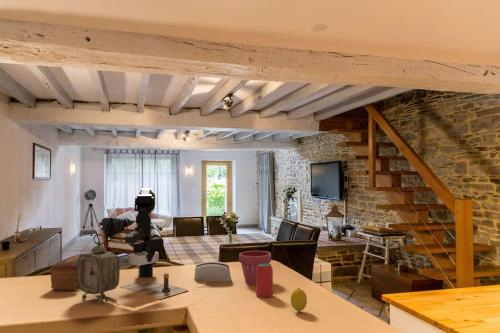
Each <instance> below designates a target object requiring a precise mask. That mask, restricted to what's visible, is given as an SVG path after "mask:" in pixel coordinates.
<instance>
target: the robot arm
mask: <svg viewBox="0 0 500 333" xmlns="http://www.w3.org/2000/svg"><path fill="white" fill-rule="evenodd" d="M155 209H156V194H155V193H154V192H153V191H152V188H150V187H149V188H147V187H143V188H142V187H141V188H140V192H139V193H138V194H137V195H136V197H134V209H133V210H134V212H137V213H136V217H135V222H136V226H134V230H133V231H131V232H129V233H127V234H126V235H124V240H125V244H127V245H128V246H130V247H131V248H132V249H133V252H134V253H138V252H143V251H147V253H148V262H151V260H152V258H153V256H154V254H155V252H157V250H158V249H159V247H160V246H163V245H164V244H165V243H164V238H162V237H154V235H152V229H154V226H153V225H152V213H153V211H154V210H155ZM156 264H157V262H154V263H150V264H145V265H140V266H138V265H135V266H136V267H138V278H145V279H146V278H152V277H154V275H153V274H154V268H153V266H155V265H156Z"/></svg>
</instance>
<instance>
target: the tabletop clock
mask: <svg viewBox="0 0 500 333" xmlns="http://www.w3.org/2000/svg"><path fill="white" fill-rule="evenodd" d="M97 236H99V237H100V236H101V237H102V239H103V242H101V241H100V240H98V241H96V237H97ZM105 242H106V239H105V236H104V234H102V233H95V234H94V236H93V243H94V244H96V245H95V246H94V247H93V248H92V249H91V252H87V253H80V254H81V255H80V256H79V260H78V286H79V288H78V289H79V290H80V291H81V292H84V293H85V294H83V295H81V299H82V300H85V299H87V295H88V294H90V295H98V294H100V299H99V300H98V304H99V305H102V304H104V299H103V297H106V296H107V295H106V294H105V292H109V291H113V290H115V289H117V287H118V286H119V284H120V274H121V273H120V266H121V265H120V258H119V256H118V255H117V254H115V253H113V252H110V251H107V249H106V247H105V246H104V244H105Z"/></svg>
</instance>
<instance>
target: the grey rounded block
mask: <svg viewBox="0 0 500 333" xmlns="http://www.w3.org/2000/svg"><path fill="white" fill-rule="evenodd" d="M193 278H194V279H193V280H195V281H200V282H204V281H205V283H211V281H219V283H220V282H221V283H224V282H225V283H229V282H231V281H232V275H231V269H230V265H229V264H228V263H226V262H225V263H224V262H222V261H204V262H200V263H198V264H196V265H195V268H194V276H193ZM206 281H207V282H206ZM208 281H210V282H208Z"/></svg>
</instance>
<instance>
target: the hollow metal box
mask: <svg viewBox="0 0 500 333" xmlns="http://www.w3.org/2000/svg"><path fill="white" fill-rule="evenodd" d="M159 254H160V252H158V251H156V252H155V254H154V256H153V258H152V260H151V262H148V253H147V251H143V252H138V253H135V252H134V253H129V254H128V264H129V265H133V266H136V265H138V266H137V267H139V266H140V265H145V264H150V263H154V262H156V263H157V262H159V260H160V258H159V256H160V255H159Z"/></svg>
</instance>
